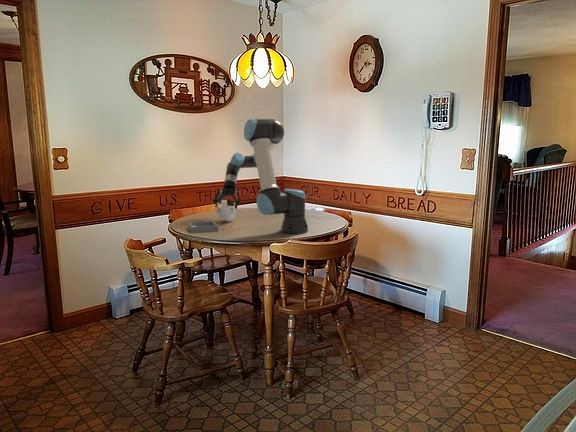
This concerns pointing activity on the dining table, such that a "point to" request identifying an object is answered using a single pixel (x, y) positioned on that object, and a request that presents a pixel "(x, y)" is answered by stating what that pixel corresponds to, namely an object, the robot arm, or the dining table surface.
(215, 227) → the pill tray
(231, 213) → the medicine bottle
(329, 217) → the dining table surface
